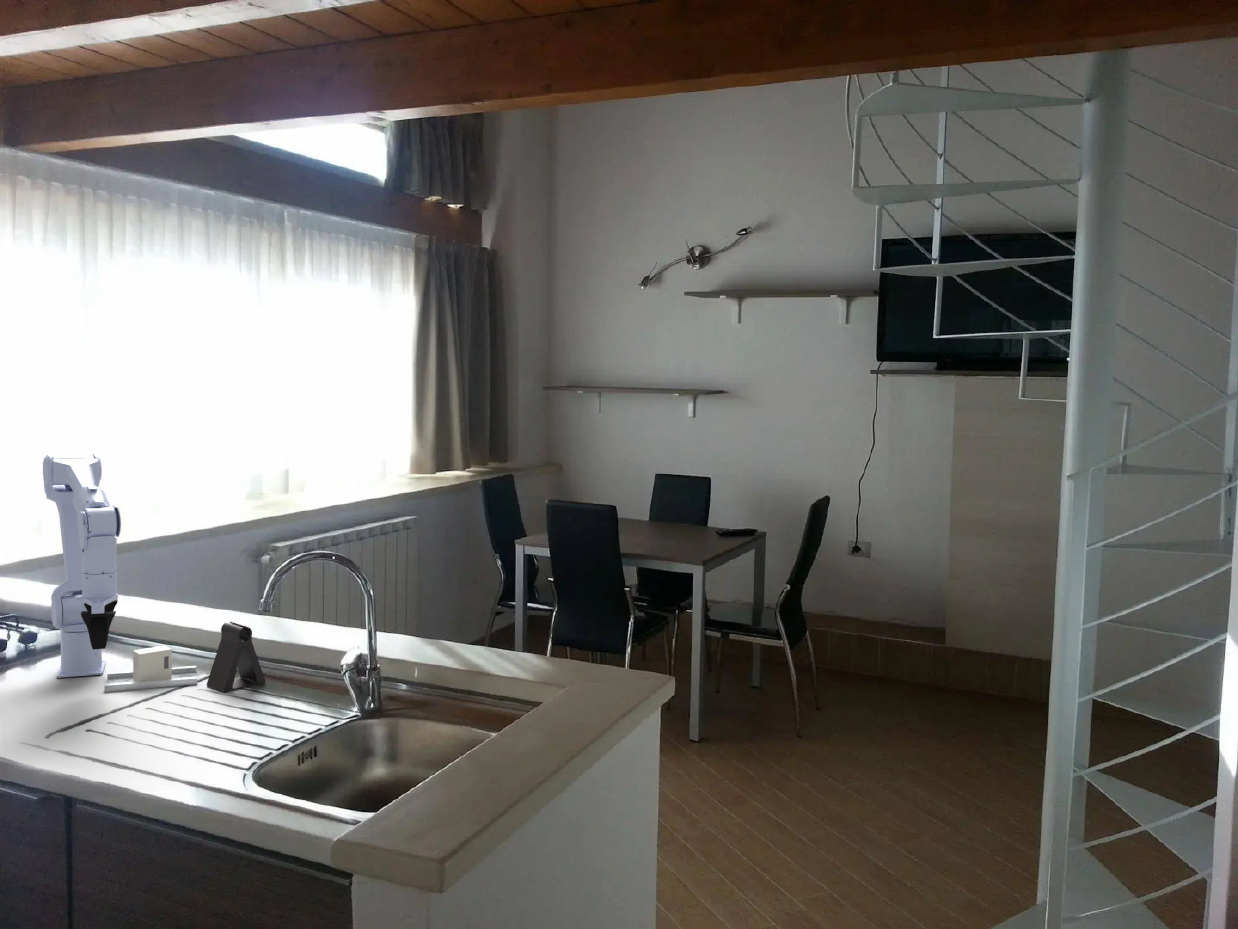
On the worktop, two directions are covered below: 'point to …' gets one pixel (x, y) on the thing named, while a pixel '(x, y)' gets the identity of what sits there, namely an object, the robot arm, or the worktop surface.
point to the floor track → (125, 680)
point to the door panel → (152, 663)
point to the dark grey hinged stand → (235, 660)
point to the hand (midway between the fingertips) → (100, 643)
